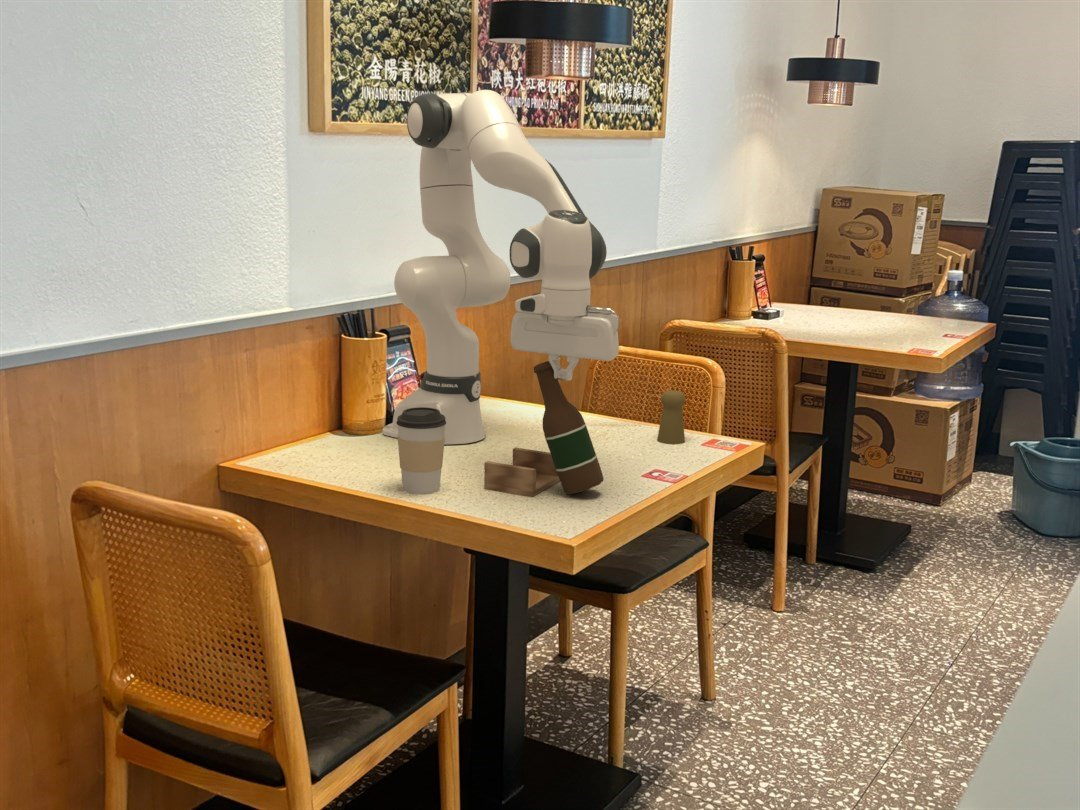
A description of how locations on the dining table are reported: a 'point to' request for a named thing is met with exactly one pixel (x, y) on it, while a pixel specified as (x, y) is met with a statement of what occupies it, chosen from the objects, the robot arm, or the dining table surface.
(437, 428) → the coffee cup
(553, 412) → the beer bottle
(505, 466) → the walnut rest
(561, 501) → the dining table surface
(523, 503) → the dining table surface
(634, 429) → the dining table surface
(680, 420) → the cork
